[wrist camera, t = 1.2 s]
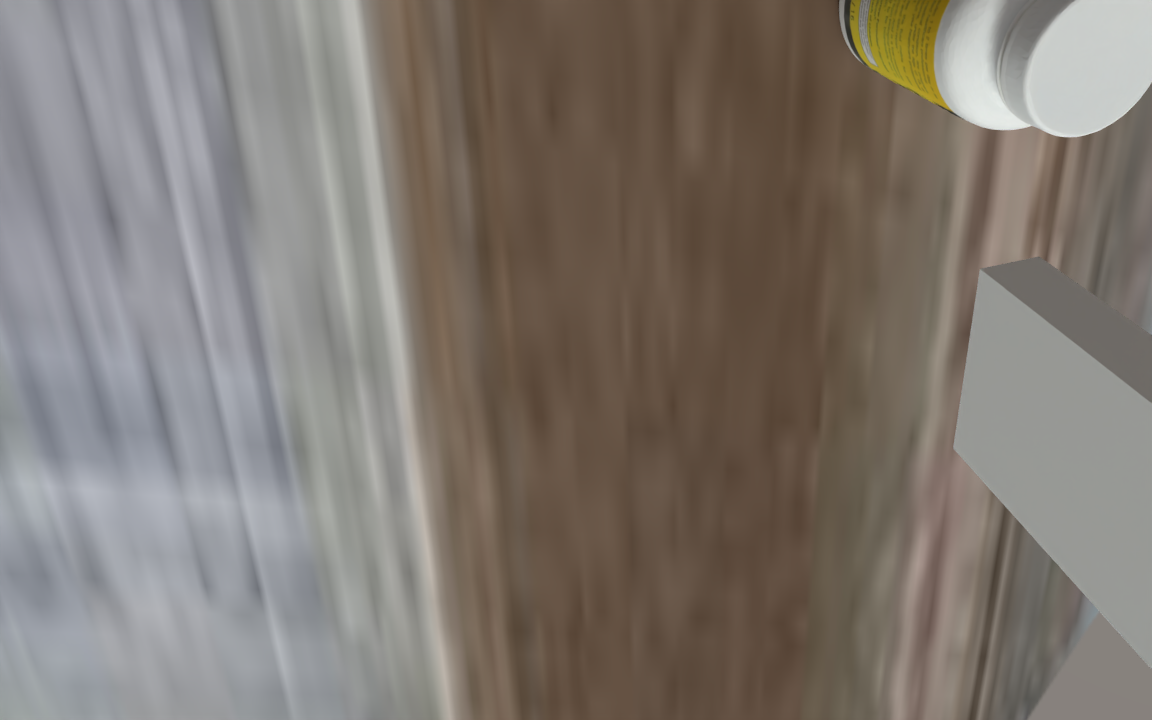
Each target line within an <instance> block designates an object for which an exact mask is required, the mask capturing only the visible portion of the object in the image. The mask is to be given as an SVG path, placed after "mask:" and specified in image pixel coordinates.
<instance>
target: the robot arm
mask: <svg viewBox="0 0 1152 720" xmlns="http://www.w3.org/2000/svg"><path fill="white" fill-rule="evenodd" d="M953 449H954V450H955V451H956V452H957V453H958V454H959V455H960V456H961V457H962V459H963V460H964V461H965V462H966V463H967V464H968V465H969V466H970V468H971V469H972V470H973V471H974V472H975V473H976V474H977V475H978V476H979V478H980V479H981V480H982V481H983V482H984V483H985V484H986V485H987V486H988V488H989V489H990V490H991V491H992V492H993V493H994V494H995V495H996V497H997V498H998V499H999V500H1000V501H1001V502H1002V503H1003V504H1004V505H1005V507H1006V508H1007V509H1008V510H1009V511H1010V512H1011V513H1012V514H1013V515H1014V517H1015V518H1016V519H1017V520H1018V521H1019V522H1020V523H1021V524H1022V525H1023V527H1024V528H1025V529H1026V530H1027V531H1028V532H1029V533H1030V534H1031V536H1032V537H1033V538H1034V539H1035V540H1036V541H1037V542H1038V543H1039V544H1040V546H1041V547H1042V548H1043V549H1044V550H1045V551H1046V552H1047V553H1048V554H1049V556H1050V557H1051V558H1052V559H1053V560H1054V561H1055V562H1056V563H1057V564H1058V566H1059V567H1060V568H1061V569H1062V570H1063V571H1064V572H1065V573H1066V575H1067V576H1068V577H1069V578H1070V579H1071V580H1072V581H1073V582H1074V583H1075V585H1076V586H1077V587H1078V588H1079V589H1080V590H1081V591H1082V592H1083V593H1084V595H1085V596H1086V597H1087V598H1088V599H1089V600H1090V601H1091V602H1092V604H1093V605H1094V606H1095V607H1096V608H1097V609H1098V610H1099V611H1100V612H1101V614H1103V616H1104V617H1105V618H1106V619H1107V620H1108V621H1109V622H1110V623H1111V625H1112V626H1113V627H1114V628H1115V629H1116V630H1117V631H1118V632H1119V634H1120V635H1121V636H1122V637H1123V638H1124V639H1125V640H1126V641H1127V642H1128V644H1129V645H1130V646H1131V647H1132V648H1133V649H1134V650H1135V651H1136V652H1137V654H1138V655H1139V656H1140V657H1141V658H1142V659H1143V660H1144V661H1145V663H1146V664H1147V665H1148V666H1149V667H1150V668H1151V669H1152V335H1150V334H1149V333H1148V332H1146V331H1145V330H1143V329H1142V328H1140V327H1139V326H1138V325H1136V324H1135V323H1133V322H1132V321H1130V320H1129V319H1128V318H1126V317H1125V316H1123V315H1122V314H1120V313H1119V312H1118V311H1116V310H1115V309H1113V308H1112V307H1110V306H1109V305H1108V304H1106V303H1105V302H1103V301H1102V300H1100V299H1099V298H1098V297H1096V296H1095V295H1093V294H1092V293H1090V292H1089V291H1088V290H1086V289H1085V288H1083V287H1082V286H1080V285H1079V284H1078V283H1076V282H1075V281H1073V280H1072V279H1070V278H1069V277H1068V276H1066V275H1065V274H1063V273H1062V272H1060V271H1059V270H1058V269H1056V268H1055V267H1053V266H1052V265H1050V264H1049V263H1047V262H1046V261H1045V260H1043V259H1042V258H1040V257H1035V258H1030V259H1026V260H1021V261H1016V262H1011V263H1006V264H1001V265H997V266H992V267H987V268H982V269H980V273H979V280H978V286H977V293H976V300H975V307H974V313H973V320H972V327H971V333H970V340H969V347H968V353H967V360H966V367H965V373H964V380H963V387H962V393H961V400H960V407H959V413H958V420H957V427H956V433H955V440H954V447H953Z"/></svg>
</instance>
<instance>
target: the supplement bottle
mask: <svg viewBox="0 0 1152 720" xmlns="http://www.w3.org/2000/svg"><path fill="white" fill-rule="evenodd" d="M839 17H840V24H841V29H842V33H843V36H844V39H845V41H846V43H847V45H848V47H849V49H850V50H851V51H852V53H853V54H854V56H855V57H856V58H857V59H858V60H859V61H860V62H862V63H863V64H864V65H866V66H867V67H868V68H870V69H872V70H873V71H875V72H876V73H878V74H880V75H882V76H884V77H885V78H888V79H890V80H891V81H893V82H895V83H897V84H899V85H900V86H902V87H904V88H906V89H908V90H910V91H912V92H914V93H915V94H917V95H919V96H921V97H923V98H925V99H927V100H929V101H931V102H932V103H934V104H936V105H938V106H940V107H941V108H943V109H945V110H947V111H949V112H950V113H952V114H954V115H956V116H958V117H960V118H962V119H964V120H967V121H968V122H971V123H973V124H976V125H978V126H981V127H984V128H988V129H994V130H1015V129H1021V128H1026V127H1029V126H1034V127H1037V128H1039V129H1041V130H1043V131H1045V132H1047V133H1049V134H1052V135H1055V136H1061V137H1078V136H1084V135H1088V134H1091V133H1094V132H1097V131H1099V130H1101V129H1103V128H1105V127H1107V126H1109V125H1110V124H1112V123H1114V122H1115V121H1116V120H1118V119H1119V118H1120V117H1122V116H1123V115H1124V114H1126V113H1127V112H1128V111H1129V110H1130V109H1131V108H1132V107H1133V106H1134V105H1135V104H1136V103H1137V101H1138V100H1139V99H1140V98H1141V97H1142V95H1143V94H1144V93H1145V91H1146V90H1147V89H1148V87H1149V85H1150V84H1151V82H1152V0H839Z"/></svg>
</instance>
